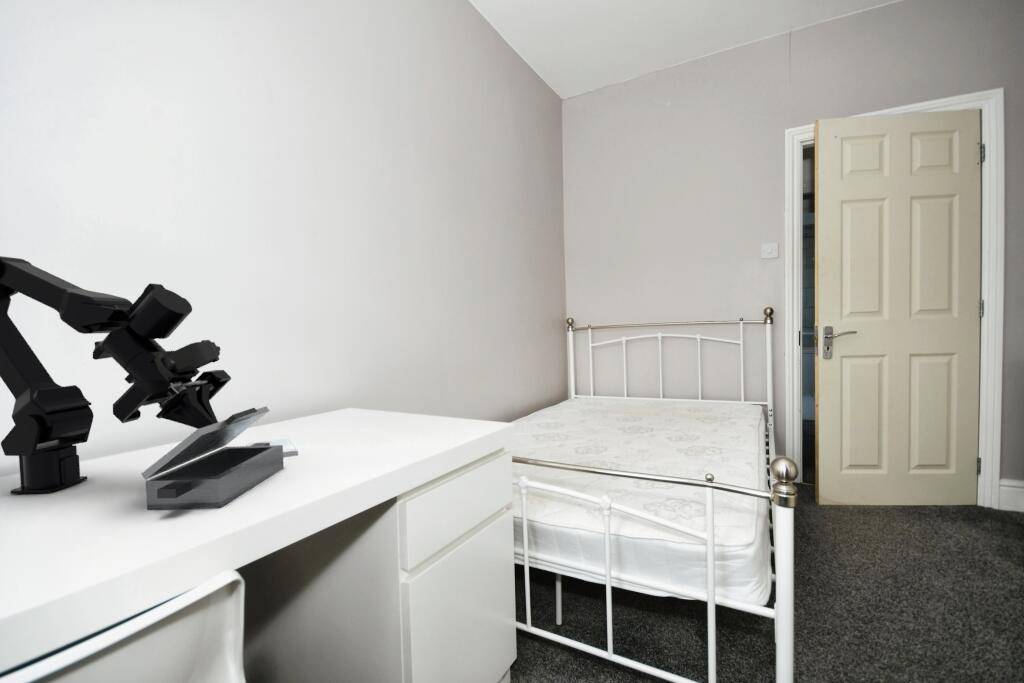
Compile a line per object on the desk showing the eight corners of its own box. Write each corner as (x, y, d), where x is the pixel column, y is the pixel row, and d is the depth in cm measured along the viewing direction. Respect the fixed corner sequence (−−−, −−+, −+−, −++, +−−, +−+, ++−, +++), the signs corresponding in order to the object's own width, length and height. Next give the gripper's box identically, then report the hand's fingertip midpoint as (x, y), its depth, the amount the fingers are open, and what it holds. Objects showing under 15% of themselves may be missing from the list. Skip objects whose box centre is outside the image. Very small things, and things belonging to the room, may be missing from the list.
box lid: (145, 479, 64) (136, 468, 64) (225, 445, 82) (218, 436, 82) (210, 428, 64) (201, 416, 64) (276, 405, 82) (269, 396, 82)
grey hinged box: (129, 518, 61) (127, 488, 61) (236, 464, 85) (235, 442, 85) (206, 516, 61) (204, 486, 61) (291, 462, 85) (290, 440, 85)
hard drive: (245, 443, 96) (249, 456, 86) (289, 437, 101) (298, 449, 90) (246, 451, 97) (250, 465, 86) (289, 445, 101) (298, 457, 90)
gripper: (132, 323, 63) (215, 405, 63) (219, 323, 81) (283, 387, 82) (75, 380, 63) (158, 462, 64) (174, 368, 82) (238, 431, 82)
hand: (217, 431), depth 73 cm, fingers closed, pressing on box lid
